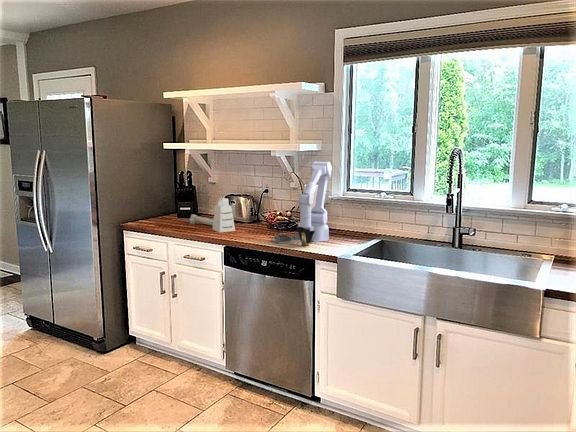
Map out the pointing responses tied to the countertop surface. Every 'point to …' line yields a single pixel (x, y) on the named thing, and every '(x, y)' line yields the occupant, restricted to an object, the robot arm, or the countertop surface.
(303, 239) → the cylinder
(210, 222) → the grey flared rod
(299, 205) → the robot arm
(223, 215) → the grater
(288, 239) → the manifold plate
